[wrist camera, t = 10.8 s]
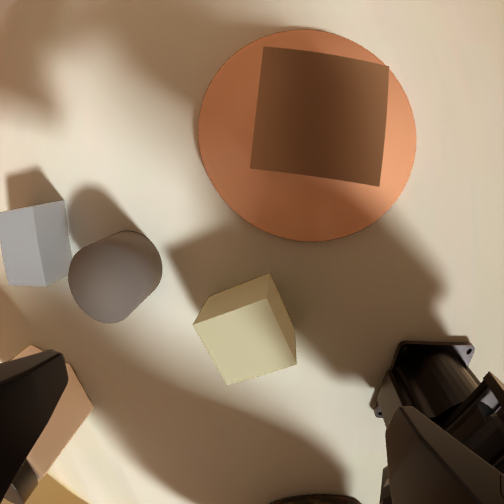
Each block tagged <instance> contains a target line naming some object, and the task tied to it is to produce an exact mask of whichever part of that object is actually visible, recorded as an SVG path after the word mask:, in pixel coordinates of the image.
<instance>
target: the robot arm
mask: <svg viewBox="0 0 504 504" xmlns="http://www.w3.org/2000/svg"><path fill="white" fill-rule="evenodd" d="M405 347H407V349H406V350H404V351H402V350H403V348H405ZM468 349H469V350H468ZM467 350H468V351H467ZM474 350H475V348H474V346H473V345H472V344H471V343H449V342H420V341H403V342H401V343H400V344H399V345H398V347H397V350H396V353H395V356H394V359H393V362H392V365H391V367H390V369H389V370H388V371H387V372H386V375H385V378H384V380H383V383H382V386H381V388H380V391H379V394H378V396H377V404H376V407H375V409H374V413H375V416H376V417H378V418H383V419H384V422H385V425H386V428H387V429H386V434H385V438H386V449H387V461H388V466H387V467H385V468H384V469H383V475H382V486H381V495H380V504H504V384H503V383H502V382H501V381H500V380H499V379H498V378H496V377H495V376H494V375H493V374H492V373H491V372H490V371H489V372H488V373H487V374H486V376H485V377H484V378H483V379H484V380H483V381H482V382H480V381H479V380H478V379H477V377H476V376H475V375H474V374H473V372H472V371H471V370H470V369H469V367H468V365H469V363H470V360H471V358H472V355H473V353H474ZM67 384H68V372H67V368H66V363H65V358H64V356H63V354H62V353H60V352H57V351H54V350H47V351H43V352H40V353H36V354H33V355H29V356H26V357H22V358H18V359H15V360H11V361H8V362H4V363H0V503H1V502H2V500H3V498H4V496H5V494H6V493H7V491H8V489H9V487H10V485H11V484H12V482H13V480H14V478H15V477H16V475H17V473H18V471H19V470H20V468H21V466H22V465H23V463H24V461H25V460H26V458H27V456H28V455H29V453H30V451H31V450H32V448H33V446H34V445H35V443H36V441H37V440H38V438H39V437H40V435H41V433H42V432H43V430H44V429H45V427H46V425H47V424H48V422H49V420H50V418H51V416H52V414H53V412H54V410H55V408H56V406H57V404H58V402H59V400H60V398H61V396H62V394H63V392H64V390H65V388H66V386H67ZM380 411H381V412H380Z"/></svg>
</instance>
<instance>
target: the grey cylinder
mask: <svg viewBox="0 0 504 504" xmlns="http://www.w3.org/2000/svg"><path fill="white" fill-rule="evenodd" d="M161 276H162V261H161V258H160V255H159V252H158V251H157V249H156V247H155V246H154V244H153V243H152V242H151V241H150V240H149V239H148V238H147V237H145V236H143V235H142V234H140V233H137V232H133V231H122V232H119V233H117V234H114V235H112V236H110V237H107V238H105V239H103V240H100V241H98V242H96V243H93V244H91V245H89V246H86V247H84V248H82V249H81V250H79V251H78V252H77V253H76V254H75V255H74V257H73V259H72V261H71V263H70V266H69V272H68V280H69V286H70V290H71V293H72V295H73V297H74V299H75V301H76V303H77V304H78V305H79V307H80V308H81V309H82V310H83V311H84V312H85V313H86V314H87V315H89V316H90V317H91V318H93V319H95V320H97V321H100V322H103V323H117V322H120V321H122V320H124V319H125V318H126V317H127V316H128V315H129V314H130V313H131V312H132V311H133V310H134V309H135V308H137V307H138V306H139V305H140V304H141V303H142V302H143V301H144V300H145V299H146V298H147V297H148V296H149V295H150V294H151V293H152V292H153V291H154V290H155V289H156V287H157V286H158V284H159V283H160V280H161Z"/></svg>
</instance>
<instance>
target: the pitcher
mask: <svg viewBox="0 0 504 504" xmlns="http://www.w3.org/2000/svg"><path fill="white" fill-rule="evenodd" d="M271 504H360V503H359V502H358V501H357V500H354V499H351V498H348V497H345V496H336V495H306V496H296V497H290V498H285V499H281V500H278V501H275V502H273V503H271Z"/></svg>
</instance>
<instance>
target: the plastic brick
mask: <svg viewBox="0 0 504 504" xmlns="http://www.w3.org/2000/svg"><path fill="white" fill-rule="evenodd" d="M0 244H1V250H2V256H3V261H4V266H5V270H6V275H7V280H8V284H9V285H11V286H39V287H47V286H49V285H50V284H52V283H54V282H56V281H58V280H59V279H61V278H63V277H65V276H67V275H68V272H69V266H70V263H71V261H72V253H71V247H70V241H69V234H68V227H67V220H66V211H65V203H64V200H61V201H55V202H49V203H43V204H38V205H32V206H27V207H22V208H17V209H13V210H8V211H4V212H0Z"/></svg>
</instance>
